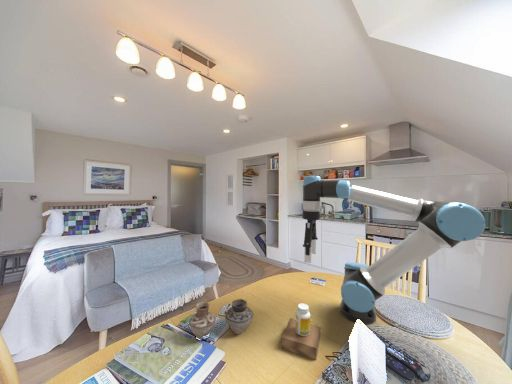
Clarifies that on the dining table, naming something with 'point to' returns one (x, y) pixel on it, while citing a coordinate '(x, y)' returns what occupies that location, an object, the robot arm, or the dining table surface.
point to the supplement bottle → (302, 320)
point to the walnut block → (301, 340)
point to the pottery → (235, 316)
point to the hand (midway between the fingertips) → (310, 257)
